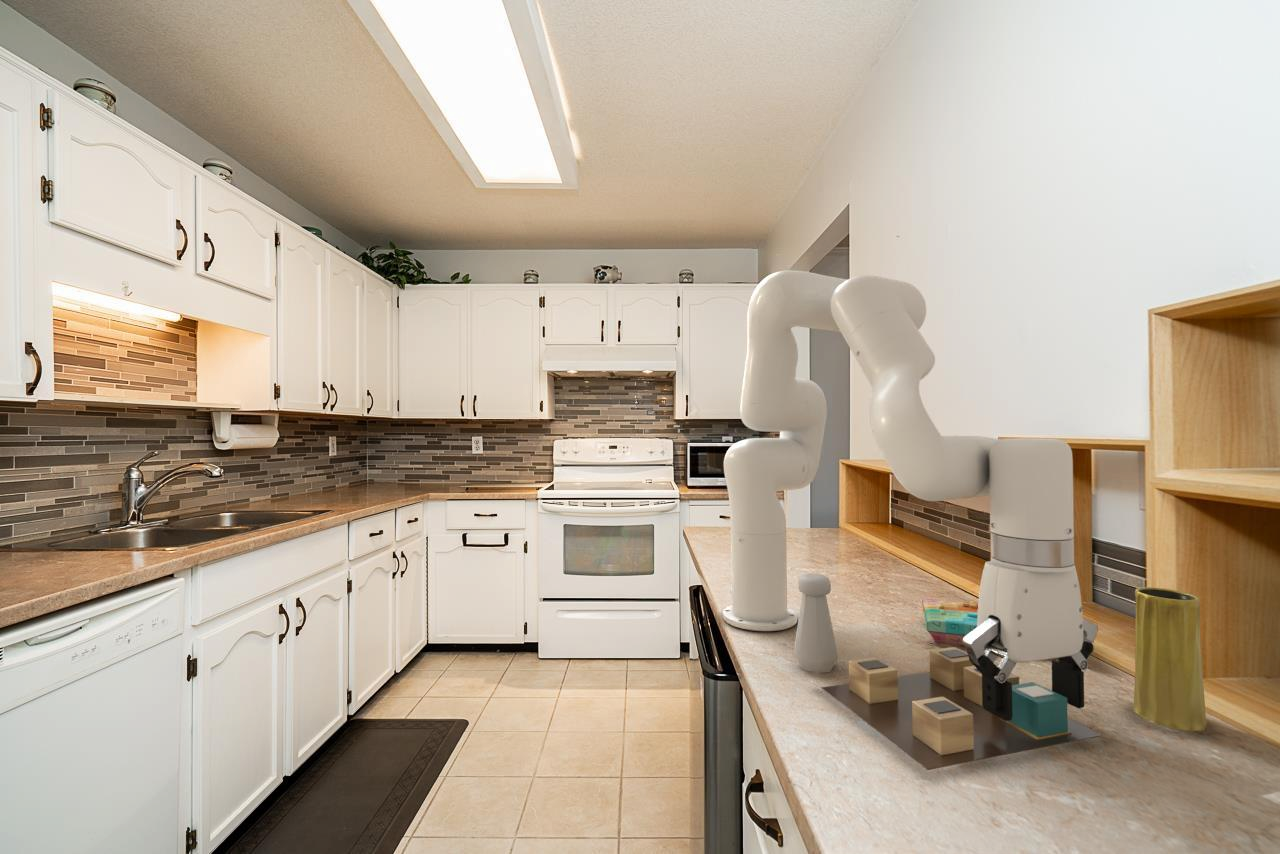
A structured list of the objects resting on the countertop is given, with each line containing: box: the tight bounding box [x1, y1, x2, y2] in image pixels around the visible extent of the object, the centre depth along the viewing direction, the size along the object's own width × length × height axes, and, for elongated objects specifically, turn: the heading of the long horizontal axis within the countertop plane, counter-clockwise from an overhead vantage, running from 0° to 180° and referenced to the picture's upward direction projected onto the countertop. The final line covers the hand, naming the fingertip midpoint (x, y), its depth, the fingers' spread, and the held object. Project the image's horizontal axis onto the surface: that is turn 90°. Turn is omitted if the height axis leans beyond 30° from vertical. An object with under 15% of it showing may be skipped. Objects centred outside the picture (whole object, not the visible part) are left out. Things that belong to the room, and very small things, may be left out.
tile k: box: [912, 697, 974, 755], centre depth 59 cm, size 4×4×4 cm
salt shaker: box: [793, 572, 839, 674], centre depth 78 cm, size 6×6×13 cm
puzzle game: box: [921, 598, 1007, 651], centre depth 87 cm, size 12×5×20 cm
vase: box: [1132, 586, 1208, 732], centre depth 63 cm, size 6×6×14 cm
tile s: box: [1009, 681, 1069, 737], centre depth 61 cm, size 4×4×4 cm
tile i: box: [928, 646, 974, 691], centre depth 72 cm, size 4×4×4 cm
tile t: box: [963, 666, 1020, 707], centre depth 67 cm, size 4×4×4 cm
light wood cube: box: [848, 656, 899, 704], centre depth 69 cm, size 4×4×4 cm
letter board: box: [820, 671, 1103, 771], centre depth 65 cm, size 18×22×1 cm
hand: (1033, 708), depth 62 cm, fingers open, 9 cm apart
